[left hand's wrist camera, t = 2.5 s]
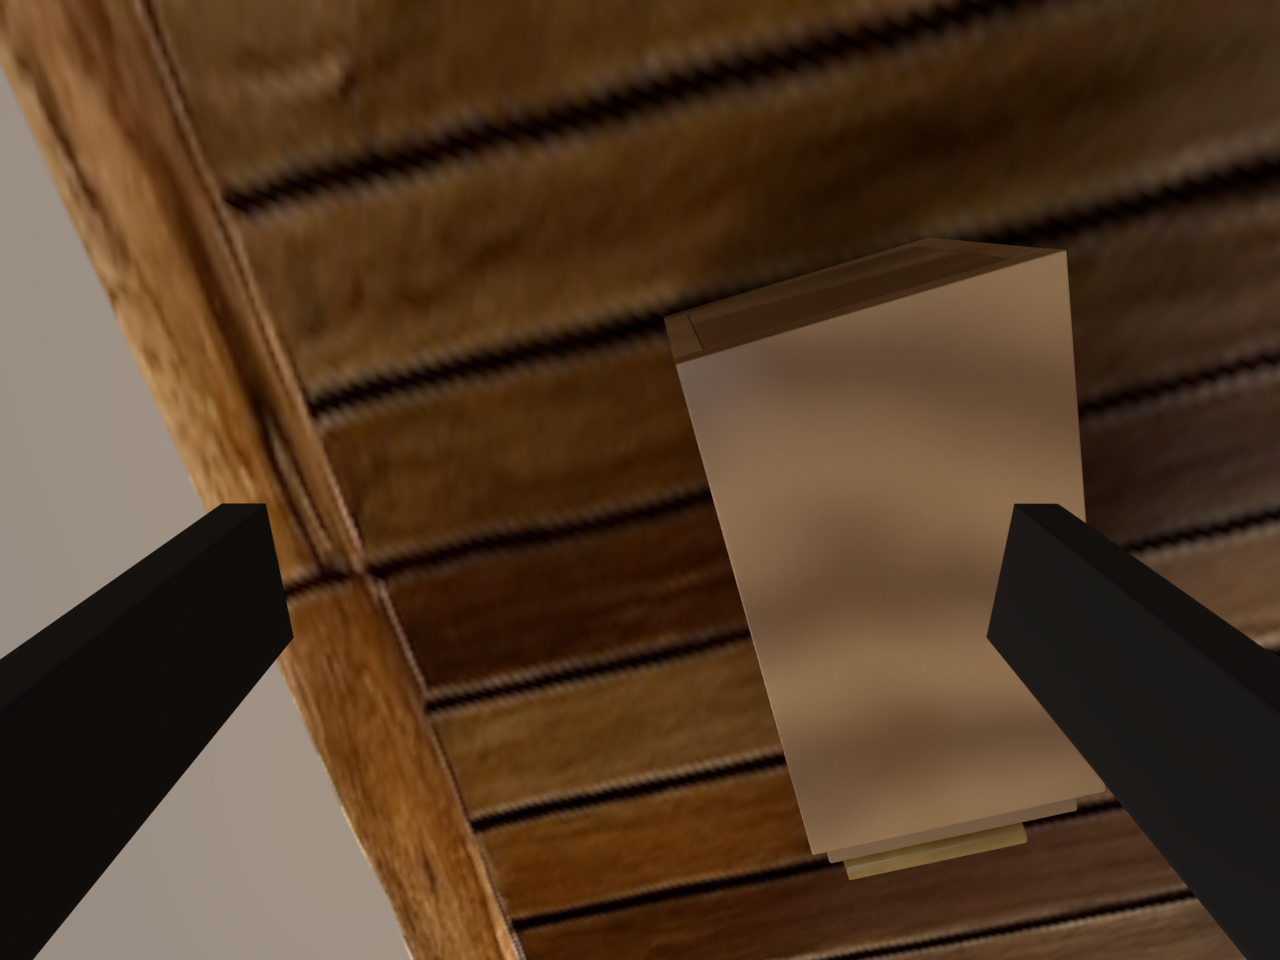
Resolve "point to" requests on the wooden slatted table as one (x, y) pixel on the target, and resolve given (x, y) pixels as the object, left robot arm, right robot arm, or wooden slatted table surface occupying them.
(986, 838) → the drawer
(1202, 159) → the wooden slatted table surface
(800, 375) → the cabinet
